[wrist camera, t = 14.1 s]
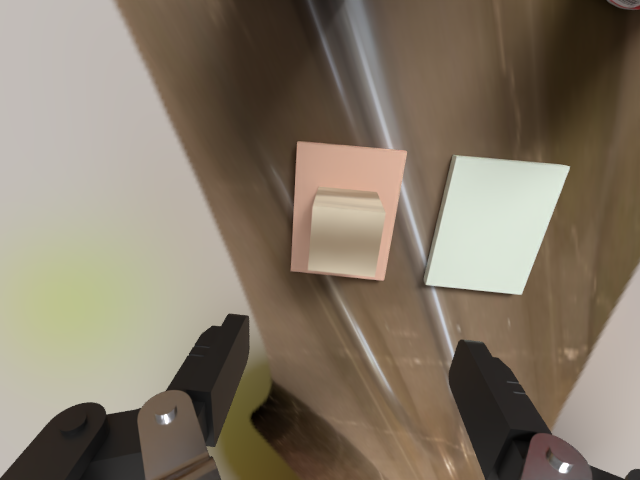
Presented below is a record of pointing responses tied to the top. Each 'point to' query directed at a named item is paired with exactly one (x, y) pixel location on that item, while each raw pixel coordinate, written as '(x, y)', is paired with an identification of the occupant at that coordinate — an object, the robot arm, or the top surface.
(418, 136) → the top surface
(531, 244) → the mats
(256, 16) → the top surface
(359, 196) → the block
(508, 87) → the top surface
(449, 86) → the top surface
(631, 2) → the soda can
